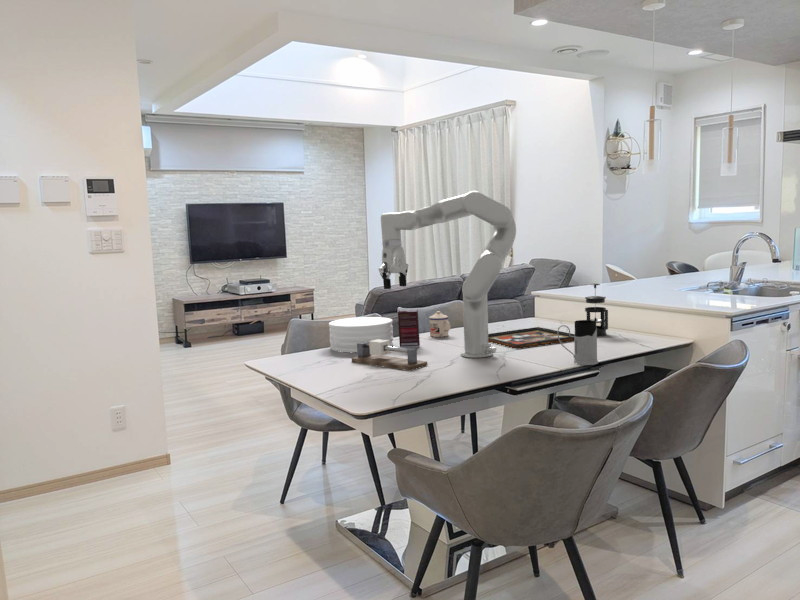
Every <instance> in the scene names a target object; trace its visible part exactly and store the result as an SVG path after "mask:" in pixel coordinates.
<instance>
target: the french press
mask: <svg viewBox="0 0 800 600" xmlns="http://www.w3.org/2000/svg"><path fill="white" fill-rule="evenodd" d="M590 286H593V288H594V295H590V296H585V297H584V299H585V303H587V304H594V306H589V307H585V308H584V312H585V313H586V320H593V321H596V324H600V325H596V327H597V337H605V336H607V330H609V310H608V309H607V308H606V307H602V306H597V304H602V303H605V301H606V298H607V297H606V296H601V295H596V291H597V286H601V284H599V283H591V284H590ZM591 313H594V318H592V319H591ZM597 313H600V319H599V318H597Z"/></svg>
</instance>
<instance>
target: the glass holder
mask: <svg viewBox="0 0 800 600" xmlns="http://www.w3.org/2000/svg"><path fill="white" fill-rule="evenodd" d="M596 326H597V323H596V321H593V320H587V319H583V320H582V319H578V320H575V321H574V334H575V335H574V336H571V335H570V333H571V330H570V327H569V326H568V325H565V324H564V325H563V324H562V325H560V326H558V328H557V330H556V331H557V333H558V332H559V331H560V328H562V327H566V328H567V330H568V333H569V335H570V336H571V337H574V341H573V342H574V345H573V346H574V349H573V351H574V353H573V352H572V351H571V350H570V349H568V348H567V347H566V346H565V345H564V344H563V343H561V341H560V339H559V333H558V339H559V341H560V343H559V344H560V345H561V346H562V348H564V349H565V350H567V351H568V352H569V353H570V354H572V355H573V359H574V360H573V362H574V363H573V362H572V363H573V364H575V363H577V364H576V365H578V364H582V365H581V366H594V365H598V364H599V360H598V336H597V327H596Z"/></svg>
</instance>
